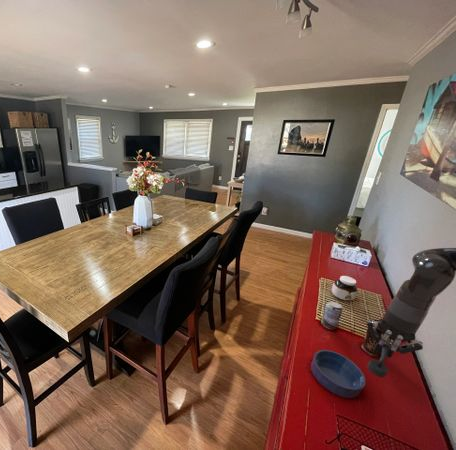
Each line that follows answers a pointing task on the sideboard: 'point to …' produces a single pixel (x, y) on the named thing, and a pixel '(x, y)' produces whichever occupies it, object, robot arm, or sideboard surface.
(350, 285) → the spread jar
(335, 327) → the beverage can
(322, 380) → the bowl
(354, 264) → the sideboard surface
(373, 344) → the coffee cup
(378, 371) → the door handle
